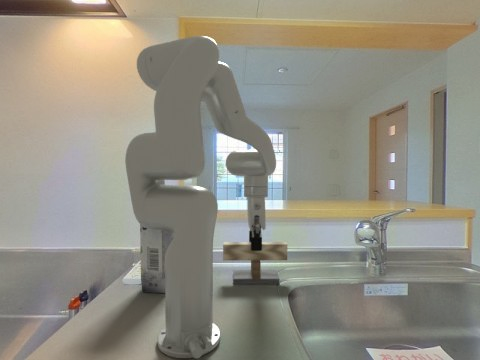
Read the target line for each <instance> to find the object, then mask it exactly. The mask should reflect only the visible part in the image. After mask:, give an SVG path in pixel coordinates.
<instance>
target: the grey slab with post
mask: <svg viewBox="0 0 480 360" xmlns="http://www.w3.org/2000/svg"><path fill="white" fill-rule="evenodd" d="M232 272H233V273H232V275H233V283H232V284H233V285H278V284H279V285H280V281H281V280H280V276H279V273H277V270H276V269H262V268H261V260H250V269H233V271H232Z"/></svg>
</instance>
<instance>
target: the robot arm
mask: <svg viewBox="0 0 480 360" xmlns="http://www.w3.org/2000/svg"><path fill="white" fill-rule="evenodd" d="M136 69H137V73H138V75H139V77H140V79H141V80H142V82H143V83H144V84H145V85H146V86H147V87H148V88H150V89H151V90H153V91H155V95H154V98H153V99H154V100H153V112H154V113H153V114H154V115H153V117H154V127H155V132H154V131H153V132H144V133H140V134H137V135H136V136H134V137H133V138H132V139H131V140H130V142H129V144H128V146H127V149H126V153H125V161H124V163H125V170H126V171H125V172H126V176H127V182H128V188H129V189H128V190H129V194H130V199H131V205H132V210H133V214H134V216H135V219H136V220H137V223H139V225H140V224H141V225H142V226H143V227H145V228H149V229H154V230H163V231H170V232H175V236H174V238H173V240H172V242H171V243H170V245H169V247H168V248H167V251H166V255H165V293H164V294H165V295H164V302H165V304H164V306H165V310H164V311H165V312H164V313H165V320H164V321H165V325H164V326H165V327H163V328H162V330H161V331H159V333H158V335H157V347H158V350H160V352H161V353H163V354H164V355H166V356H169V357H172V358H175V359H191V358H194V359H199V358H201V357H202V356H204V355H207V354H208V353H210V352H211V351H213V350H214V349H215V348H216V347H217V346H218V345H219V344H220V341H221V330H220V329H219V327H218V326H217V325H216V324H215V323H213V320H214V319H213V317H214V315H213V314H214V313H213V310H214V309H213V307H214V306H213V305H214V304H213V303H214V301H213V300H214V299H213V298H214V297H213V296H214V294H213V293H214V292H213V291H214V289H213V283H214V282H213V281H214V280H213V279H214V274H213V272H214V271H213V270H214V269H213V267H214V266H213V262H214V261H213V259H214V257H213V254H214V253H213V252H214V251H213V250H214V249H213V248H214V237H215V236H214V234H215V230H216V229H215V228H216V222H217V218H218V210H219V209H218V206H219V205H218V200H217V198H216V196H215V194H214V193H213V192H212V191H211V190H209V189H207V188H206V187H202V186H198V185H184V184H183V185H182V184H165V180H166V181H187V180H188V181H189V180H193V179H196V178H198V177H200V176H201V175H202V173H203V172H204V169H205V162H206V159H205V147H204V136H203V128H202V120H201V119H202V118H201V102H204V104H205V105H206V107H207V110H208V113H209V116H210V117H211V120H212V122H213V125H214V128H215V130H216V131H217V132H219V133H220V134H222V135H224V136H227V137H229V138H232V139H234V140H237V141H240V142H243V143H245V144H247V145H249V146H251V147H252V148H254V149H245V150H244V149H241V150H233V151H231V152H230V153H229V154H228V155H227V156H226V159H225V167H226V170H227V171H228V173H230V174H231V175H233V176H235V177H243V197H244V198H247V222H248V228H249V231H248V236H249V237H248V242H251V250H252V251H261V250H262V242H263V235H262V230H263V231H265V230H266V198H268V197H269V176H271V175H273V174H274V172H275V171H276V168H277V159H276V154H275V153H276V152H275V149H274V146H273V142H272V140H271V138H270V135H269V134H268V133H267V132H266V131H265V130H264V129H263V128H262V127H261V126H260V125H259V124H258V123H257V122H255V121H254V120H252V119H251V118H249V116H248V115H247V113H246V111H245V107H244V104H243V102H242V98H241V95H240V91H239V89H238V86H237V82H236V80H235V76H234V74H233V72H232V71H233V70H232V69H231V68H230V65H228V64H226V63H224V62H221V61H220V50H219V46H218V44H217V43H216V41H215V39H213V38H211V37H209V36H204V35H195V36H189V37H184V38H179V39H175V40H171V41H167V42H161V43H158V44H153V45H150V46H147V47H146V48H143V50H141V51H140V52H139V54H138V56H137V59H136Z"/></svg>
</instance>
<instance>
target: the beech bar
mask: <svg viewBox="0 0 480 360" xmlns="http://www.w3.org/2000/svg"><path fill="white" fill-rule="evenodd" d="M251 260H260V261H288V243H287V242H286V241H262V250H261V251H252V250H251V242H249V241H224V242H222V261H251Z"/></svg>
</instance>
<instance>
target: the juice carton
mask: <svg viewBox="0 0 480 360" xmlns="http://www.w3.org/2000/svg"><path fill="white" fill-rule="evenodd" d="M139 231H140V234H139V237H140V238H139V239H140V242H139V243H140V244H139V245H140V280H141V281H140V283H141V289H142V292H143V293H161V294H163V293H164V294H165V255H166V251H167V248H168V247H169V245H170V243H171V242H172V240H173V238H174V236H175V232H170V231H163V230H154V229H149V228H145V227H143V226H142V225H141V224H140V223H139Z"/></svg>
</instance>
